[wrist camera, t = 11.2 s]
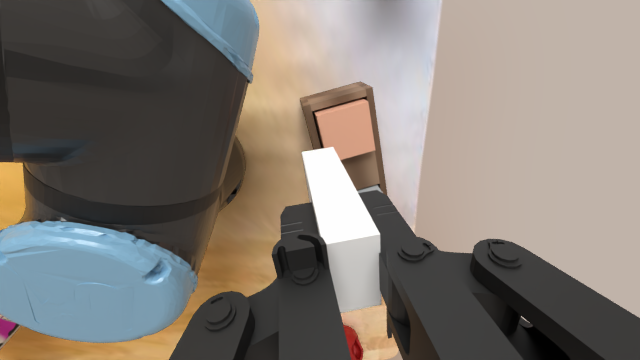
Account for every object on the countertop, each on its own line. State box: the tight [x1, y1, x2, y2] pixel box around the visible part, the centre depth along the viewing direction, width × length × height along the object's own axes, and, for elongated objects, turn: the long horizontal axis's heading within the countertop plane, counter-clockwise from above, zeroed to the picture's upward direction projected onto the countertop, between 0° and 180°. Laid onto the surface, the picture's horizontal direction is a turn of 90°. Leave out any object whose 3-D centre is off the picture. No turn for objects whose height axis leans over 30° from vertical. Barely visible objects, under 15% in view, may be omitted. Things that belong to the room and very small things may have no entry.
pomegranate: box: [343, 325, 363, 360], centre depth 55 cm, size 10×10×9 cm
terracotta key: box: [313, 98, 375, 160], centre depth 34 cm, size 6×6×5 cm
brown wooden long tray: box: [300, 82, 387, 195], centre depth 41 cm, size 8×32×5 cm, turn 14°
